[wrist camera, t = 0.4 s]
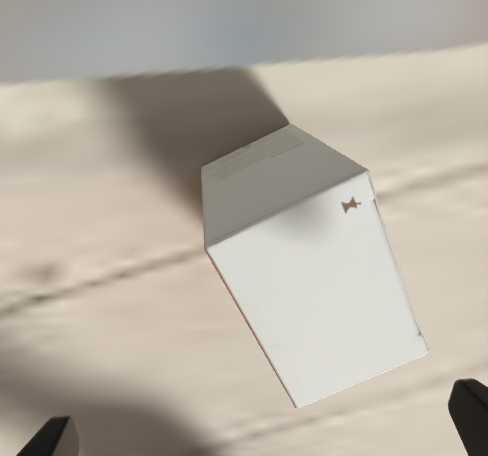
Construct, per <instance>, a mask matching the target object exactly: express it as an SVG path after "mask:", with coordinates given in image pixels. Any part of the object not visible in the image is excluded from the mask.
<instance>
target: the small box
mask: <svg viewBox="0 0 488 456" xmlns="http://www.w3.org/2000/svg"><path fill="white" fill-rule="evenodd" d="M201 182H202V204H203V225H204V250H205V251H206V253H207V254H208V256H209V258H210V260H211V261H212V263H213V265H214V267H215V268H216V270H217V272H218V274H219V275H220V277H221V279H222V280H223V282H224V284H225V286H226V287H227V289H228V291H229V293H230V294H231V296H232V298H233V300H234V301H235V303H236V305H237V307H238V308H239V310H240V312H241V314H242V315H243V317H244V319H245V321H246V322H247V324H248V326H249V328H250V329H251V331H252V333H253V334H254V336H255V338H256V340H257V341H258V343H259V345H260V347H261V348H262V350H263V352H264V354H265V355H266V357H267V359H268V361H269V362H270V364H271V366H272V368H273V369H274V371H275V373H276V375H277V376H278V378H279V380H280V382H281V384H282V385H283V387H284V389H285V390H286V392H287V394H288V395H289V397H290V399H291V401H292V402H293V404H294V406H295V408H300V407H302V406H305V405H307V404H310V403H313V402H315V401H318V400H320V399H323V398H325V397H327V396H330V395H332V394H334V393H337V392H339V391H341V390H344V389H346V388H349V387H351V386H353V385H356V384H358V383H360V382H363V381H365V380H367V379H370V378H372V377H375V376H377V375H379V374H382V373H384V372H386V371H389V370H391V369H393V368H396V367H398V366H400V365H403V364H405V363H408V362H410V361H412V360H414V359H417V358H419V357H421V356H424V355H426V354H427V353H428V350H429V349H428V346H427V344H426V342H425V339H424V337H423V335H422V332H421V330H420V327H419V325H418V322H417V319H416V317H415V314H414V311H413V308H412V305H411V303H410V300H409V297H408V294H407V291H406V288H405V285H404V282H403V279H402V277H401V274H400V271H399V268H398V265H397V262H396V259H395V256H394V253H393V250H392V247H391V244H390V241H389V238H388V235H387V232H386V229H385V225H384V222H383V219H382V216H381V213H380V210H379V206H378V203H377V198H376V194H375V190H374V187H373V183H372V180H371V176H370V172H369V170H368V169H366V168H364V167H363V166H361V165H359V164H357V163H356V162H354V161H353V160H351V159H349V158H348V157H346V156H344V155H343V154H341V153H339V152H337V151H336V150H334V149H332V148H331V147H329V146H328V145H326V144H324V143H323V142H321V141H319V140H318V139H316V138H314V137H313V136H311V135H309V134H308V133H306V132H304V131H303V130H301V129H299V128H297V127H296V126H294V125H292V124H289V125H287V126H285V127H283V128H281V129H279V130H277V131H275V132H273V133H271V134H269V135H267V136H264V137H262V138H260V139H258V140H256V141H254V142H252V143H250V144H248V145H246V146H244V147H242V148H240V149H237V150H235V151H233V152H231V153H229V154H227V155H225V156H223V157H221V158H219V159H217V160H215V161H213V162H211V163H209V164H207V165H205V166H203V167H202V168H201Z"/></svg>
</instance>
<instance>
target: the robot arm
mask: <svg viewBox="0 0 488 456" xmlns="http://www.w3.org/2000/svg"><path fill="white" fill-rule="evenodd" d="M448 409H449V413H450V415H451V418H452V420H453V422H454V424H455V426H456V429H457V431H458V433H459V435H460V438H461V440H462V442H463V444H464V447H465V449H466V451H467V453H468V456H488V387H486V386H485V385H483V384H482V383H480V382H479V381H477V380H475V379H459V380H457V381H455V383H454V385H453V389H452V392H451V395H450V399H449V402H448ZM78 452H79V438H78V434H77V431H76V427H75V424H74V420H73V418H72V417H71V416H70V415H64V416H54V417H52V418H50V419H49V420H48V421H47V422H46V423H45V424H44V426H43V427H42V428H41V429H40V430H39V431H38V432H37V433H36V434H35V436H34V437H33V438H32V439H31V440H30V441H29V442H28V443H27V444H26V445H25V447H24V448H23V449H22V450H21V451H20V452H19V453H18V454H17V455H16V456H78Z"/></svg>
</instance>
